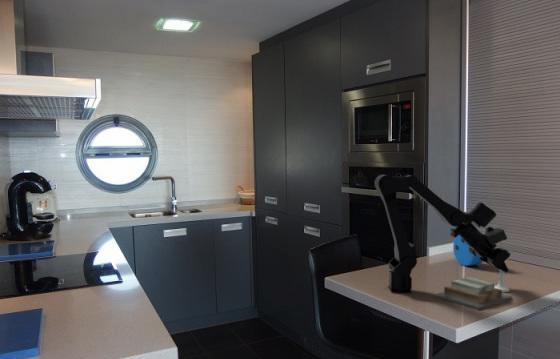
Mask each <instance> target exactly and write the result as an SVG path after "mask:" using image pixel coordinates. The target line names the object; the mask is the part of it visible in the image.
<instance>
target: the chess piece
mask: <svg viewBox="0 0 560 359" xmlns="http://www.w3.org/2000/svg"><path fill="white" fill-rule="evenodd" d="M498 271H499V272H497V273H498V274H499V279H498V284H497V285H494V288H496V289H500V290H502V293H508V292H510V288H509V287H508V286H506V285H505V282H504V275H506V272H504V271H502V270H500V269H498ZM498 274H497V275H498Z"/></svg>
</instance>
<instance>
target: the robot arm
mask: <svg viewBox="0 0 560 359" xmlns="http://www.w3.org/2000/svg"><path fill="white" fill-rule="evenodd" d="M374 187H375V189H376V192H377V193H378V195H379V197H380V198H381V201H382V202H383V205H384V208H385V212H386V216H387V220H388V225H389V226H390V230H391V233H392V238H393V242H394V247H393V251H394V253H393V254H394V257H393V258H392V259H391V260H390V261H388V263H387V264H388V268H389V272H388V276H389V277H388V279H389V280H388V284H389V285H387V288H388V289H389V291H390V292H391V293H392V294H393V293H394V294H395V293H399V294H403V293H407V294H408V293H409V294H410V293H411V294H412V289H413V288H412V287H413V285H412V284H413V282H412V280H413V278H412V276H411V273H412V270H413V269H414V268H416V265H417V263H418V259H419V256H418V255H417V250H416V245H415V244H413V243H411V242H409V241H408V239H407V235H406V232H405V228H404V224H403V221H402V220H403V219H402V216H401V213H400V210H399V206H398V201H397V198H398V197H397V193H398V191H397V190H398V189H399V190H401V189H406V188H409V189H410V190H411V191H412V192H414V193H415V195H417V196H418V197H420V198H421V200H423V201H424V202H425V203H427V204H428V205H429V206H430V207H431V208H433V210H434V211H435V212H436V213H437V214H436V215H438V217H439V218H440V219H441V221H442V222H443V223H445V224H447V225H449V226H452V228H450V237H453V238H454V239H455V238H456V237H457V236H458V235H459V236H460V237H461V238H462V239H463V240H464V241H465V242H466V243H467V245H468V246H469V247H470V248H469V252H470V253H471V254H472V255H473V256H475V257H476V256H477V255H478V256H480V258H479V259H480V260H482V261H483V262H484V263H486V264H487V265H489V266H491V267H493V268H496V269H498V270H499V269H500V270H502V271H503V272H504V273H508V272H509V271H510V270H509V268H508V266H507V264H506V262H505V261H507V259H509V258H510V257H511V253H510V252H509V251H508V250H507V249H505V248H504V247H503V248H502V247H497V246H498V245H497V244H498V243H501V242H502V241H506V240H508V237H507V234H506V232H505V230H504V229H503V228H499V227H495V228H493V226H488V225H489V224H490V223H491V222H492V221H493V220H495V219H496V217H497V214H496V212H495V211H494V209H492V208H490V207H488V206H487V205H485V203H484V202H481V201H479V202H478V203H477V204H476V206H475V207H473V208H472V209H471V210H470V211H469V212H466V211H463V210H462V209H461V210H460V209H459V208H457V207H455V206H454V205H452V204H450V203H448V202H446V201H445V200H444V199H442V198H441V197H439V196H438V195H437V193H435V192H433V191H432V190H431V188H429V187H427V186H426V184H424V183H423V182H422V181H421V180H420V179H418V177H417V176H416V175H410V174H407V175H399V176H391V175H387V174H380V175H378V176H377V177H375V180H374ZM453 227H455V228H453ZM481 227H482V228H483V229H484V228H485V233H484V234H483V233H482V232H481V231H480V230H479V229H480V228H481ZM478 228H479V229H478ZM500 270H499V271H500Z"/></svg>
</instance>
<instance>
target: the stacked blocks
mask: <svg viewBox="0 0 560 359" xmlns="http://www.w3.org/2000/svg"><path fill="white" fill-rule="evenodd" d="M494 286H495V283H494V282H490V281H487V280H482V279H480V278H474V277H471V276H467V277H462V278H459V279H456V280H451V284H450V285H448V286H444V287H443V289H444V290H443V292H444V294H446V295H450V296H453V297H456V298H460V299H463V300H467V301H470V302H474V303H477V304H482V303H485V302H488V301H491V300H494V299H497V298H500V297H501V296H502V294H503V292H502V290H500V289H496V288H494Z"/></svg>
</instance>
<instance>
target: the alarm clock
mask: <svg viewBox="0 0 560 359" xmlns="http://www.w3.org/2000/svg"><path fill="white" fill-rule="evenodd" d="M469 248H470V247H469V246H468V245H467V243H466V242H465V241H464V240H463V239H462V238H461V237H460V236H459V235H458V236H457V237H456V238H454V241H453V248H452V249H453V250H452V251H453V255H454V257H455V259H456V261H457V262H458V263H459V264H460V265H462V266H463V267H469V266H477V267H478V268H480V265H481V264H482V263H483V262H484V261H482V260H480V259H479V258H480V256H478V255H477V256H476V257H475V256H473V255H472V254H471V253H470V252H469Z"/></svg>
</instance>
